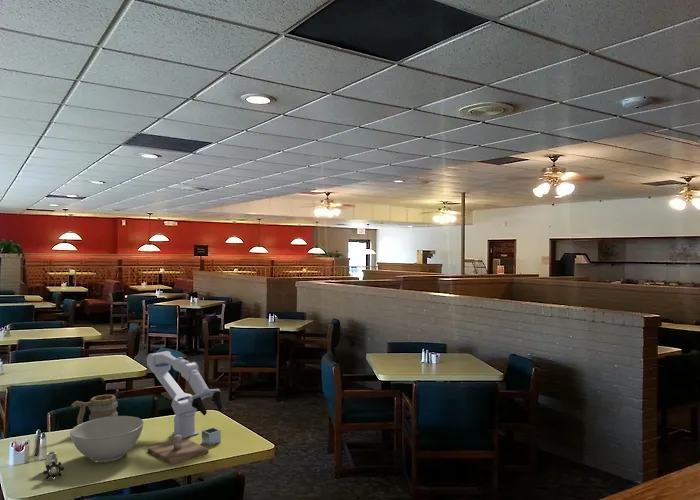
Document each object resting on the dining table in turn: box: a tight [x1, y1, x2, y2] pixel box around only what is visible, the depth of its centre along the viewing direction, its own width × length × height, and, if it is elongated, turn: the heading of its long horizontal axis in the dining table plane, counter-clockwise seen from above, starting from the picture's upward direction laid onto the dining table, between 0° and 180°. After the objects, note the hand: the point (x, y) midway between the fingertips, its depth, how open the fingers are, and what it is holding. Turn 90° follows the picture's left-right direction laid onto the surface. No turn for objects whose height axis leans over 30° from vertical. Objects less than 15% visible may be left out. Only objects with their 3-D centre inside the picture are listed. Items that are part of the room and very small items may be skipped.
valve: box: [42, 451, 65, 480], centre depth 198 cm, size 7×7×12 cm
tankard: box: [71, 394, 119, 425], centre depth 246 cm, size 20×13×15 cm, turn 133°
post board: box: [147, 434, 209, 465], centre depth 217 cm, size 20×16×6 cm
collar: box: [201, 427, 222, 447], centre depth 228 cm, size 6×6×5 cm
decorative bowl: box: [69, 415, 145, 463], centre depth 214 cm, size 27×27×12 cm
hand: (213, 411), depth 225 cm, fingers open, 7 cm apart
